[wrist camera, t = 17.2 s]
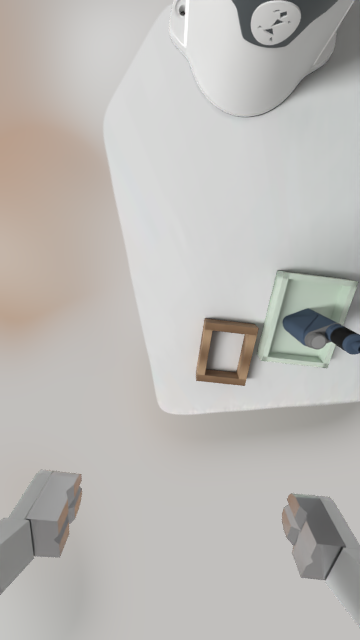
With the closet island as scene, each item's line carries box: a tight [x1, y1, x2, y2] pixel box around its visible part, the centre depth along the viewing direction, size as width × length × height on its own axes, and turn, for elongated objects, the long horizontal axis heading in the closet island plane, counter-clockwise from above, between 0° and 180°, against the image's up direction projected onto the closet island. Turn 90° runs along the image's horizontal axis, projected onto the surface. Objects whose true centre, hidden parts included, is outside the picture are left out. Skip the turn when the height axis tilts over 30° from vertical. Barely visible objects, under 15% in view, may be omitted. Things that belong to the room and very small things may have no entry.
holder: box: [196, 318, 259, 386], centre depth 38 cm, size 10×8×2 cm
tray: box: [257, 271, 358, 368], centre depth 36 cm, size 14×11×2 cm
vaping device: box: [282, 308, 360, 354], centre depth 31 cm, size 3×5×12 cm, turn 112°
